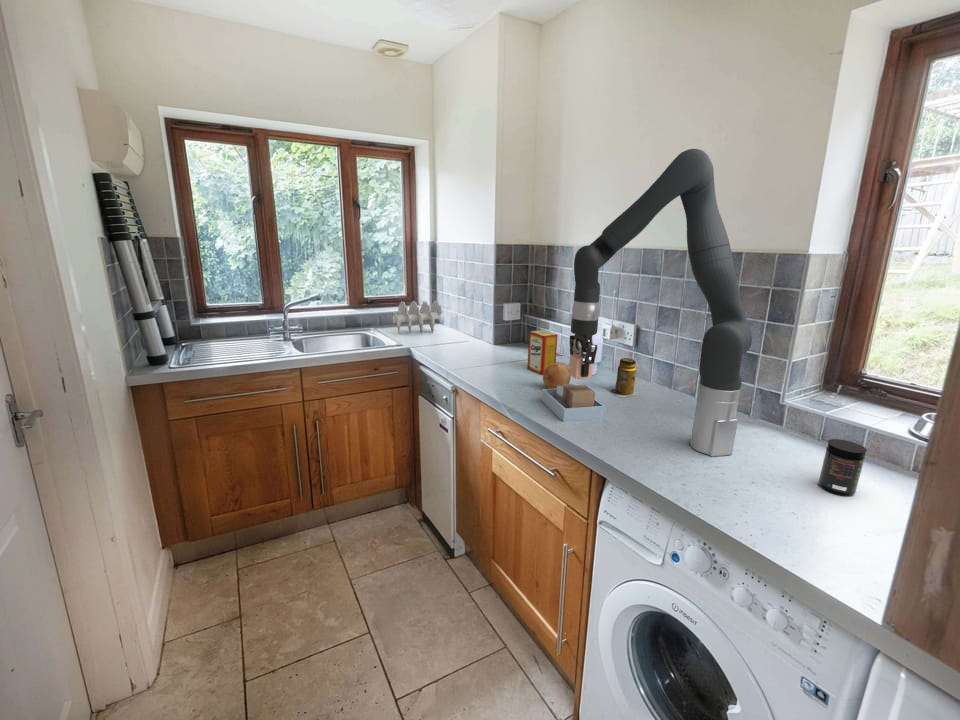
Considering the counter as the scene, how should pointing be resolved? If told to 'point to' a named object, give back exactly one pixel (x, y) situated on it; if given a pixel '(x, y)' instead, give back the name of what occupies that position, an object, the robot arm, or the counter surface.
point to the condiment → (625, 378)
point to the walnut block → (577, 396)
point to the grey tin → (560, 392)
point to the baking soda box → (541, 350)
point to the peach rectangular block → (578, 367)
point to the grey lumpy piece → (417, 314)
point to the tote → (572, 413)
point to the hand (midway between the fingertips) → (580, 373)
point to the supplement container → (842, 467)
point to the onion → (556, 375)
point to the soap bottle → (598, 341)
